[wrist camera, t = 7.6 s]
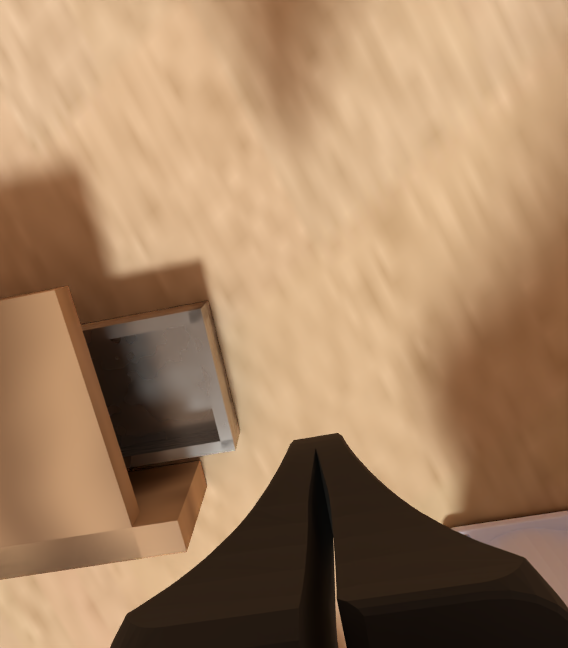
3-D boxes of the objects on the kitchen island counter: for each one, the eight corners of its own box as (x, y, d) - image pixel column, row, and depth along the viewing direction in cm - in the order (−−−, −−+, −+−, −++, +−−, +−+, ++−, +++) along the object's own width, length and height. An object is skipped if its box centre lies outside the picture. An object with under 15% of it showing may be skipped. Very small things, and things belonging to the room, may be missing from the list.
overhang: (147, 265, 20) (106, 280, 16) (207, 486, 23) (186, 551, 19) (-43, 302, 21) (-133, 326, 16) (38, 513, 24) (-20, 582, 19)
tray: (208, 300, 21) (200, 308, 19) (240, 431, 22) (235, 450, 21) (11, 337, 21) (-15, 349, 20) (55, 462, 23) (36, 483, 21)
